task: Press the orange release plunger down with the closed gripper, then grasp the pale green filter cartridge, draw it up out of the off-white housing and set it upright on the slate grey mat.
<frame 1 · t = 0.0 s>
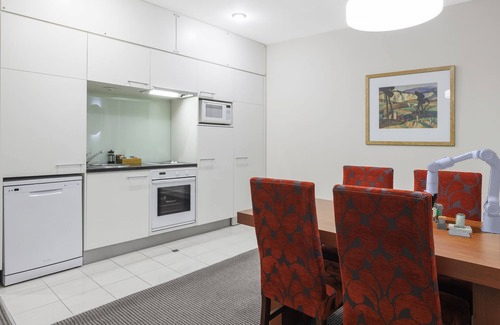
hand: (431, 206, 185), 10 cm above the table, tool pointing down, fingers open, 7 cm apart
filter housing: (459, 229, 174), on the table
food container: (436, 221, 194), on the table
release plunger: (442, 220, 175), point 4 cm above the table, slide at 0.0 cm
filter cartridge: (459, 229, 174), resting in filter housing
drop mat: (458, 234, 165), on the table
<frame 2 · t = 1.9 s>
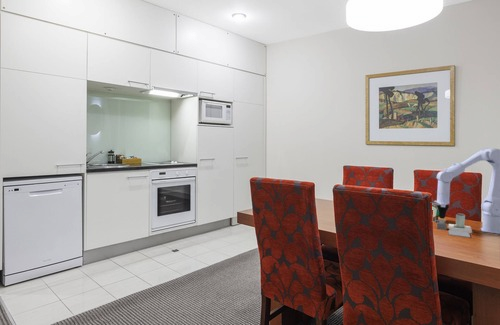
hand: (442, 218, 175), 6 cm above the table, tool pointing down, fingers closed, pressing on release plunger
release plunger: (441, 221, 175), point 4 cm above the table, slide at 0.7 cm, touching gripper
everything else where it was.
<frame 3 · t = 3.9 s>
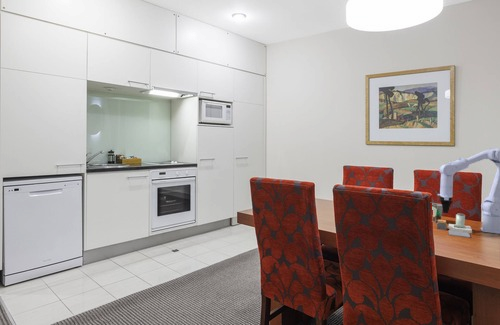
hand: (445, 211, 175), 9 cm above the table, tool pointing down, fingers open, 7 cm apart
release plunger: (441, 224, 176), point 2 cm above the table, slide at 2.1 cm
everything else where it was.
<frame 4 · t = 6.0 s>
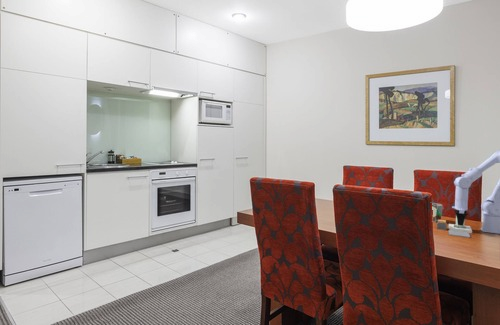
hand: (460, 224, 174), 3 cm above the table, tool pointing down, fingers closed on filter cartridge, 4 cm apart
filter cartridge: (459, 229, 174), resting in filter housing, touching gripper
everything else where it was.
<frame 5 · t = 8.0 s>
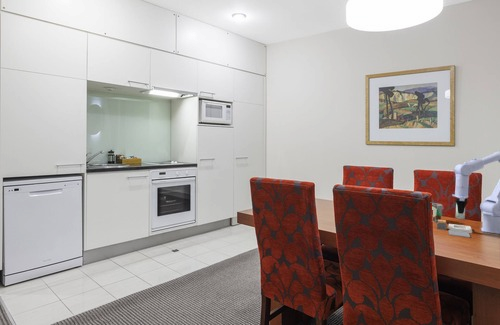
hand: (460, 212, 170), 10 cm above the table, tool pointing down, fingers closed on filter cartridge, 4 cm apart
filter cartridge: (460, 218, 171), point 7 cm above the table, touching gripper
everything else where it was.
when the fingers open (5 cm above the table, at t = 10.5 s): filter cartridge drops 1 cm, resting on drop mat.
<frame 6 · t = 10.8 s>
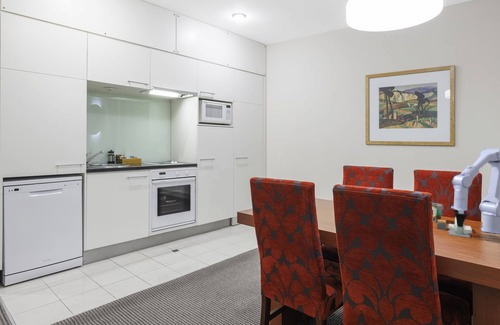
hand: (459, 225, 165), 5 cm above the table, tool pointing down, fingers open, 7 cm apart
filter cartridge: (458, 233, 165), resting on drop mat
everything else where it was.
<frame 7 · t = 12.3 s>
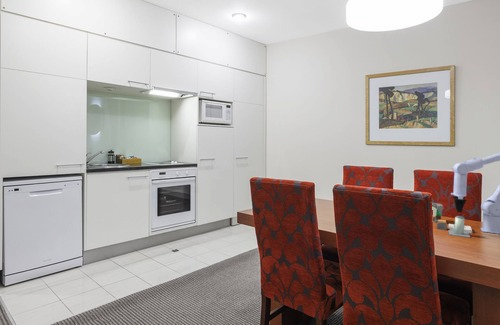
hand: (458, 210, 173), 10 cm above the table, tool pointing down, fingers open, 7 cm apart
nothing on the table moved.
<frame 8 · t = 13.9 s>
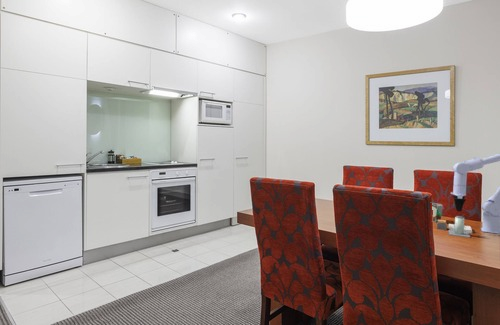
hand: (458, 210, 175), 10 cm above the table, tool pointing down, fingers open, 7 cm apart
nothing on the table moved.
at the end: release plunger slide at 2.1 cm; filter cartridge inside the target area (0.0 cm from its centre), resting on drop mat; filter cartridge tilted 1° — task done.
